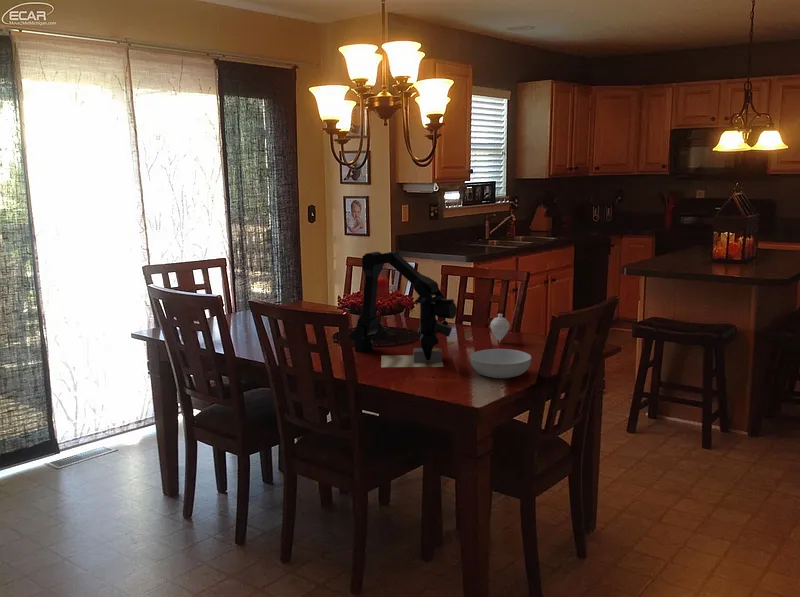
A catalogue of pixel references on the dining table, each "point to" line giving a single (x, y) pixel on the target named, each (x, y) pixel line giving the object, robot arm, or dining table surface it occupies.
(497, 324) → the spinning top
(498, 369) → the serving bowl
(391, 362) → the board
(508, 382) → the dining table surface
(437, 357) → the block
